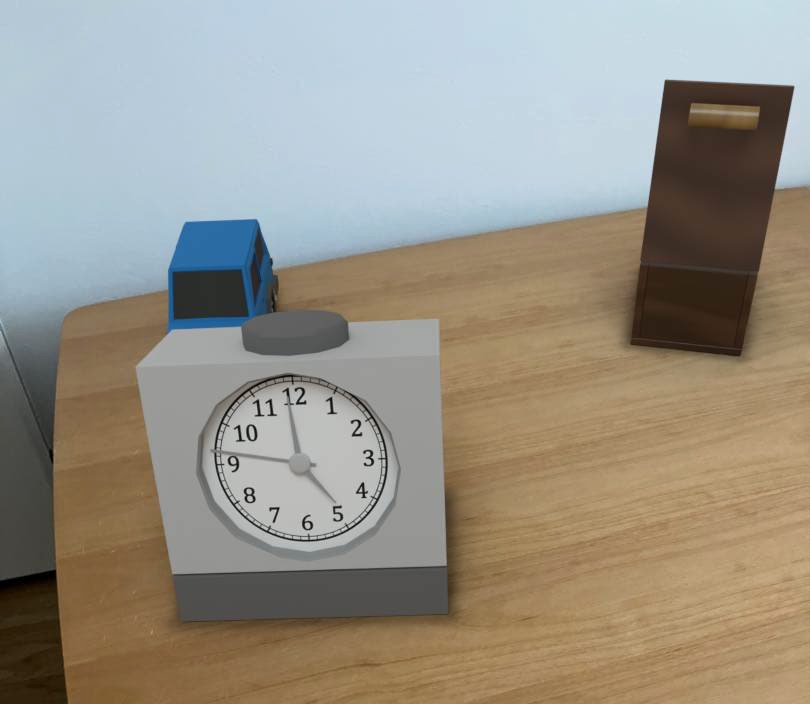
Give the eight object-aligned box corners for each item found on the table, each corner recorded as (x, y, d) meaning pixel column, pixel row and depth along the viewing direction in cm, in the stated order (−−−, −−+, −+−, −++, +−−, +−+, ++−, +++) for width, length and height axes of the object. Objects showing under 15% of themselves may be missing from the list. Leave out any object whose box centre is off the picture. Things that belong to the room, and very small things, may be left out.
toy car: (162, 407, 97) (138, 317, 90) (197, 302, 111) (178, 216, 104) (258, 405, 97) (241, 314, 90) (281, 299, 110) (267, 213, 103)
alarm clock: (180, 621, 77) (113, 408, 63) (211, 485, 88) (159, 278, 74) (448, 613, 76) (440, 395, 62) (444, 477, 88) (437, 266, 73)
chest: (646, 271, 110) (656, 194, 104) (746, 280, 108) (762, 202, 102) (630, 344, 100) (639, 264, 94) (740, 356, 98) (757, 275, 92)
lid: (665, 79, 87) (661, 84, 83) (794, 85, 84) (797, 90, 80) (640, 259, 94) (636, 271, 90) (758, 269, 92) (759, 283, 88)
